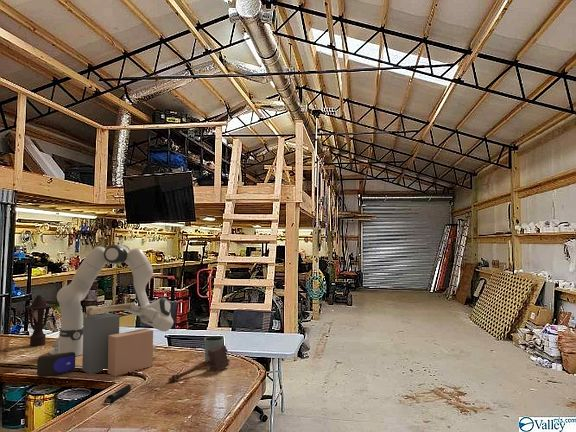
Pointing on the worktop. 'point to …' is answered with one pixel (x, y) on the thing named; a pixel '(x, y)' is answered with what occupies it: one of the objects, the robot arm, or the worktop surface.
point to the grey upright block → (97, 341)
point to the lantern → (38, 320)
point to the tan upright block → (130, 351)
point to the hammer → (209, 361)
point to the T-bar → (107, 308)
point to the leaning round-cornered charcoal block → (55, 364)
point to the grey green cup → (211, 344)
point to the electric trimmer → (117, 394)
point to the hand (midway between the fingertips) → (128, 305)
